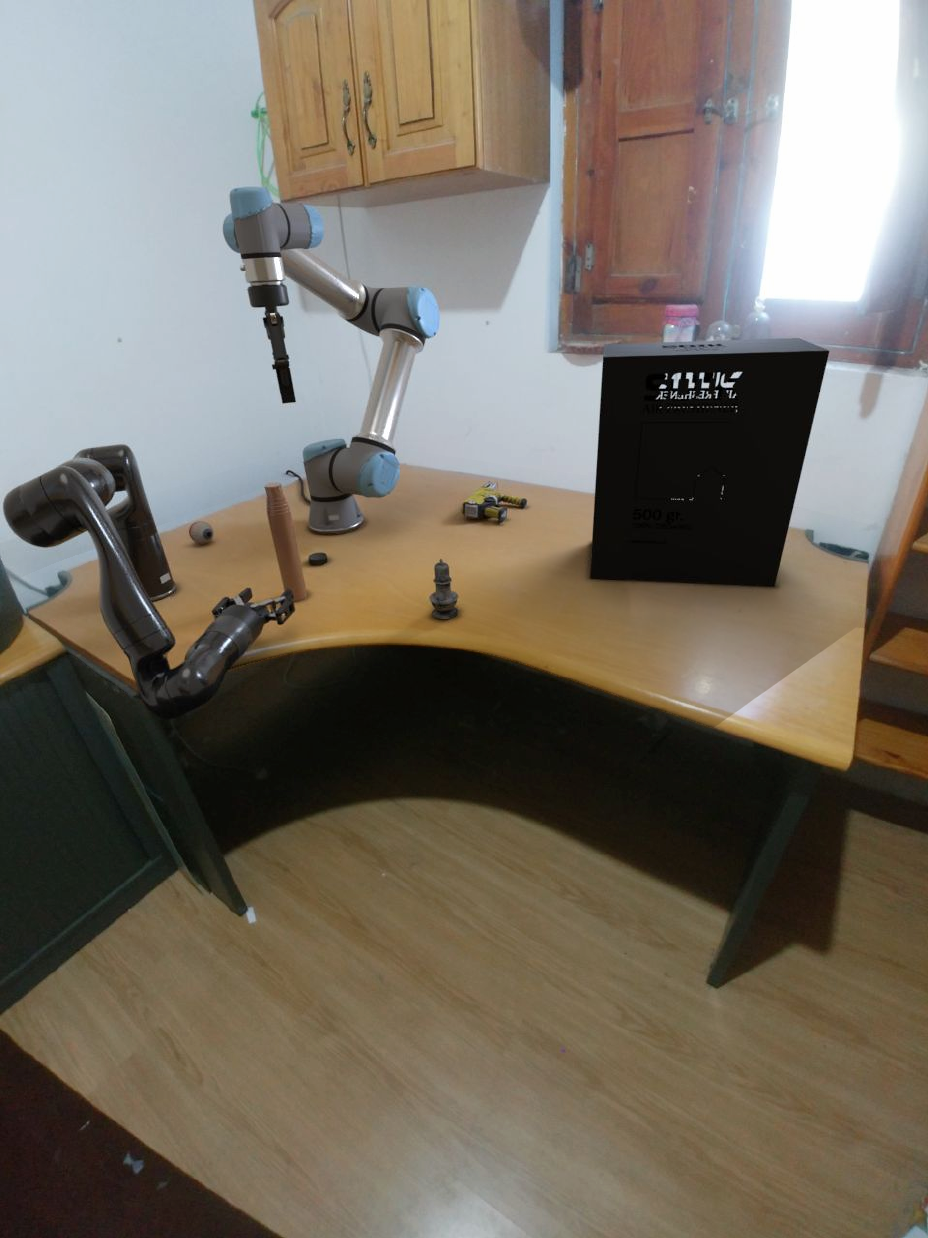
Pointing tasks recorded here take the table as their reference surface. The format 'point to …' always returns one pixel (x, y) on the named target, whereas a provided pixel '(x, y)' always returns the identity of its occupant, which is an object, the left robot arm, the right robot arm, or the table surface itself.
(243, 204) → the right robot arm
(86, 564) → the table surface
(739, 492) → the cardboard box
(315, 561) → the cap
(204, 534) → the eyeball
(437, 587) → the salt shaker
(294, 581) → the bottle
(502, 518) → the toy gun
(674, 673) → the table surface
